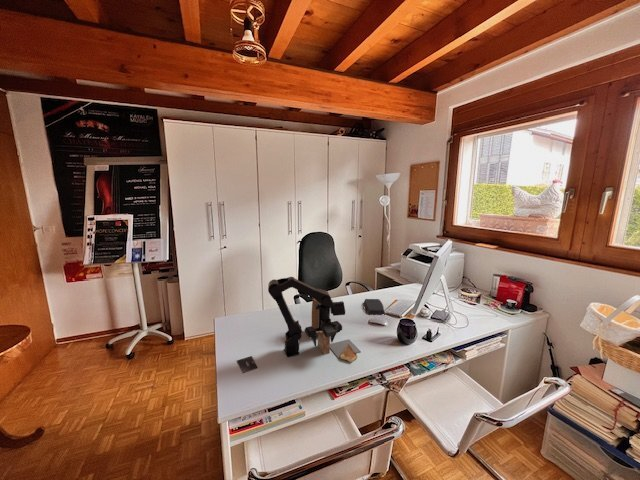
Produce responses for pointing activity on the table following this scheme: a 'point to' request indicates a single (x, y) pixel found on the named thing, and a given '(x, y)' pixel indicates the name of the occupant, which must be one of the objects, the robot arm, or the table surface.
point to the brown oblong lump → (314, 315)
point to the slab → (323, 343)
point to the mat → (342, 347)
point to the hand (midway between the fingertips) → (323, 344)
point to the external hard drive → (374, 307)
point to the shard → (348, 354)
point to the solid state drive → (247, 364)
